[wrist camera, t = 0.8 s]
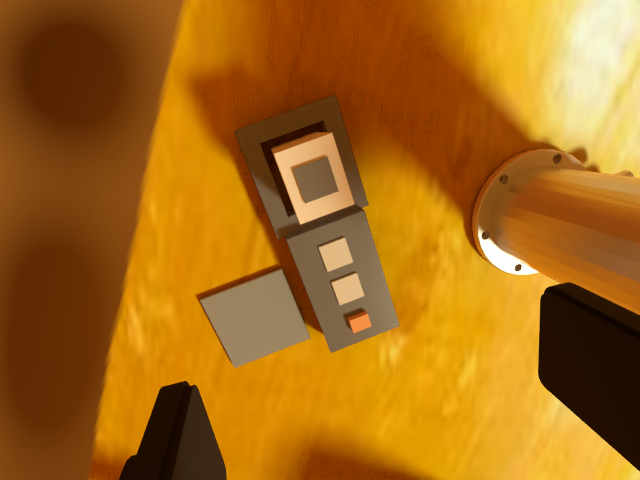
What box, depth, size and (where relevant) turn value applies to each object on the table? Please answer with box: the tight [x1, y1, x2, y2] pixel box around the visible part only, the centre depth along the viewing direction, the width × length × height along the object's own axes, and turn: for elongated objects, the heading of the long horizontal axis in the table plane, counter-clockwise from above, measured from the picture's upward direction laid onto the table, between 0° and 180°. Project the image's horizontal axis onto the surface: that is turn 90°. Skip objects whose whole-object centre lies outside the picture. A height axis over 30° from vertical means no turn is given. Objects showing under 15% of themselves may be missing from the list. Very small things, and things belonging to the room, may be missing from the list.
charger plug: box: [271, 132, 354, 225], centre depth 27 cm, size 4×5×8 cm
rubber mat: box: [200, 267, 310, 368], centre depth 35 cm, size 8×8×1 cm
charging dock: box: [234, 95, 400, 353], centre depth 32 cm, size 8×21×4 cm, turn 19°
